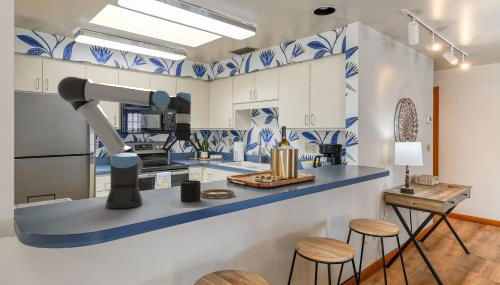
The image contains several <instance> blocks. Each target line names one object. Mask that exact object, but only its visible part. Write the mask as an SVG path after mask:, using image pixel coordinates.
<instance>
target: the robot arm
mask: <svg viewBox="0 0 500 285" xmlns="http://www.w3.org/2000/svg"><path fill="white" fill-rule="evenodd" d="M57 93H58V95H59V96H60V98H61V99H62V100H64V101H65V102H67V103H69V104H70V105H71V106H72V109H74V111H75V113H77V114H81V115H82V116H83V118H84V119H85V121H86V122H87V123H88V125H89V127H90V128H91V129H92V131H93V132H94V134H95V135H96V137H97V139H98V140H99V141H100V142H101V144H102V145H103V146H104V148H105V149H106V151H107V152H108V154H109V155H110V156H109V158H110V159H109V163H110V189H109V192H108V195H107V198H106V200H105V207H106V208H108V209H109V208H110V209H128V208H129V209H130V208H135V207H136V208H137V207H140V206H142V205H143V198H142V195H141V192H140V189H139V176H140V174H141V173H142V172H143V168H144V164H143V163H144V162H143V160H142V158H141V157H140V156H139V155H138V154H137V153H136V152H135V151H134V149H133V148H132V147H131V146H128V145H127V144H126V143H125V142H124V140H123V139H122V137H121V136H120V134H119V133H118V131H117V130H116V128H115V127H114V125H113V124H112V122H111V121H110V119H109V118H108V116H107V115H106V114H105V113H104V111H103V109H102V108H101V106H100V102H101V101H103V102H110V103H111V102H112V103H120V104H129V105H137V106H145V107H150V108H151V110H152V111H158V112H159V111H170V112H171V111H172V112H175V122H176V123H175V127H174V128H175V131H174V132H173V131H172V132H171V131H170V132H168V137H167V139H166V140H165V142H164V145H163V146H162V149H161V150H162V151H165V158H167V165H170V159H171V157H170V156H171V154H170V149H172V147H173V146H174V145H175V144H176V143H177V142H178V141H179V142H182V141H184V142H188V143H189V144H190V145H191V146H192V148H194V149H195V151H194V165H198V158H199V157H200V152H201V151H203V150H204V149H203V146H202V145H201V142H200V140H199V139H198V136H197V135H198V134H197V132H196V131H195V132H191V122H192V120H191V119H192V118H191V117H192V116H191V115H192V114H191V113H192V112H191V111H192V96H191V93H189V92H186V91H177V92H176V93H175V95H169V93H168V92H166V91H165V90H162V89H159V90H153V89H145V88H138V87H132V86H131V87H130V86H123V85H117V84H108V83H100V82H93V81H92V80H91V79H88V78H82V77H77V76H67V77H66V76H65V77H63V78H62V79H61V80H60V81H59V83H58V84H57ZM174 136H175V139H174V140H173V141H172V142H171V143H170V144H169V141H170V140H171V137H174ZM191 137H193V138H194V140H195V142H196V144H197V145H196V144H195V143H194V142H193V141H192V138H191ZM168 144H169V145H168ZM167 145H168V147H167ZM166 147H167V148H166Z"/></svg>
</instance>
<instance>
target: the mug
mask: <svg viewBox="0 0 500 285" xmlns="http://www.w3.org/2000/svg"><path fill="white" fill-rule="evenodd" d="M201 185H202V184H201V181H200V180H194V179H193V180H192V179H191V180H189V179H188V180H187V179H186V180H181V181H180V201H181V202H184V203H195V202H196V203H197V202H199V201H201V198H202V197H201V191H202V190H201Z"/></svg>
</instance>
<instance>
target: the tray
mask: <svg viewBox="0 0 500 285" xmlns="http://www.w3.org/2000/svg"><path fill="white" fill-rule="evenodd" d="M234 195H235V190H234V189H233V190H232V189H227V188H226V189H224V188H212V189H204V190H201V198H203V199H210V200H211V199H214V200H215V199H217V200H218V199H220V200H221V199H230V198H233V197H234Z"/></svg>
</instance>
